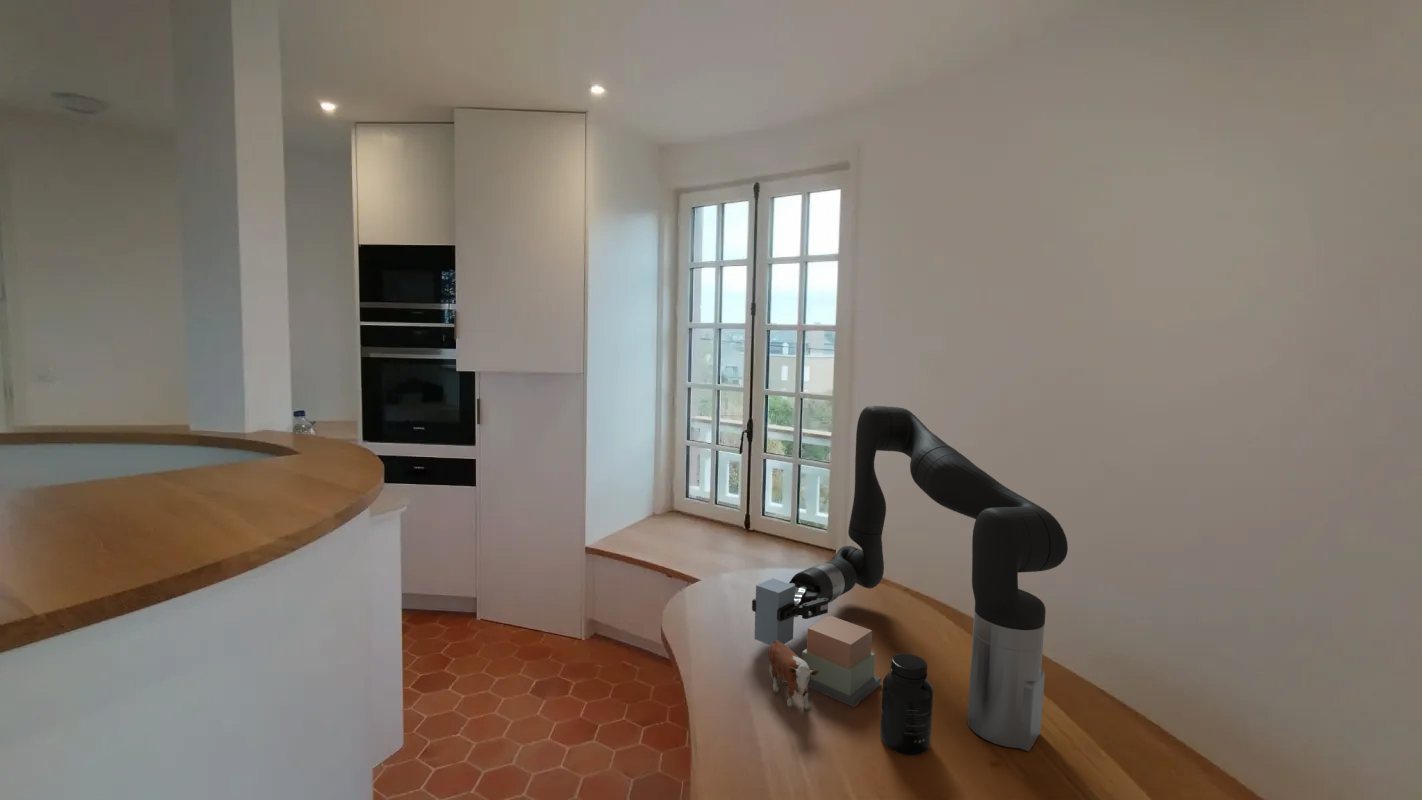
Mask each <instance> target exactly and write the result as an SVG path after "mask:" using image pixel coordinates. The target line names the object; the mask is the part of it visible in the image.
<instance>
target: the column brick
mask: <svg viewBox="0 0 1422 800" xmlns="http://www.w3.org/2000/svg"><path fill="white" fill-rule="evenodd" d="M755 598H756V612H755V613H754V640H756V641H759V642H760V643H763V644H765V645H768V646H771V645H772V644H773V643H774V641H776V640H778V641H779V642H781V643H783V644H785V645H786V644H787V643H789V642H790V641H793V640H794V626H795V625H794V623H795V621H794V619H795V617H791V618H789V619H787V620H783V621H778V620H777V610H778V609H779V608H781V607H783V606H785V605H787V604H789V603H791V604H792V602H793V601H794V598H795V585H792V584H789V582H785V581H782V580H779V579H775V578H770V579H767V580H765V581H763V582H761V583H758V584H756V585H755Z"/></svg>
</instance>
